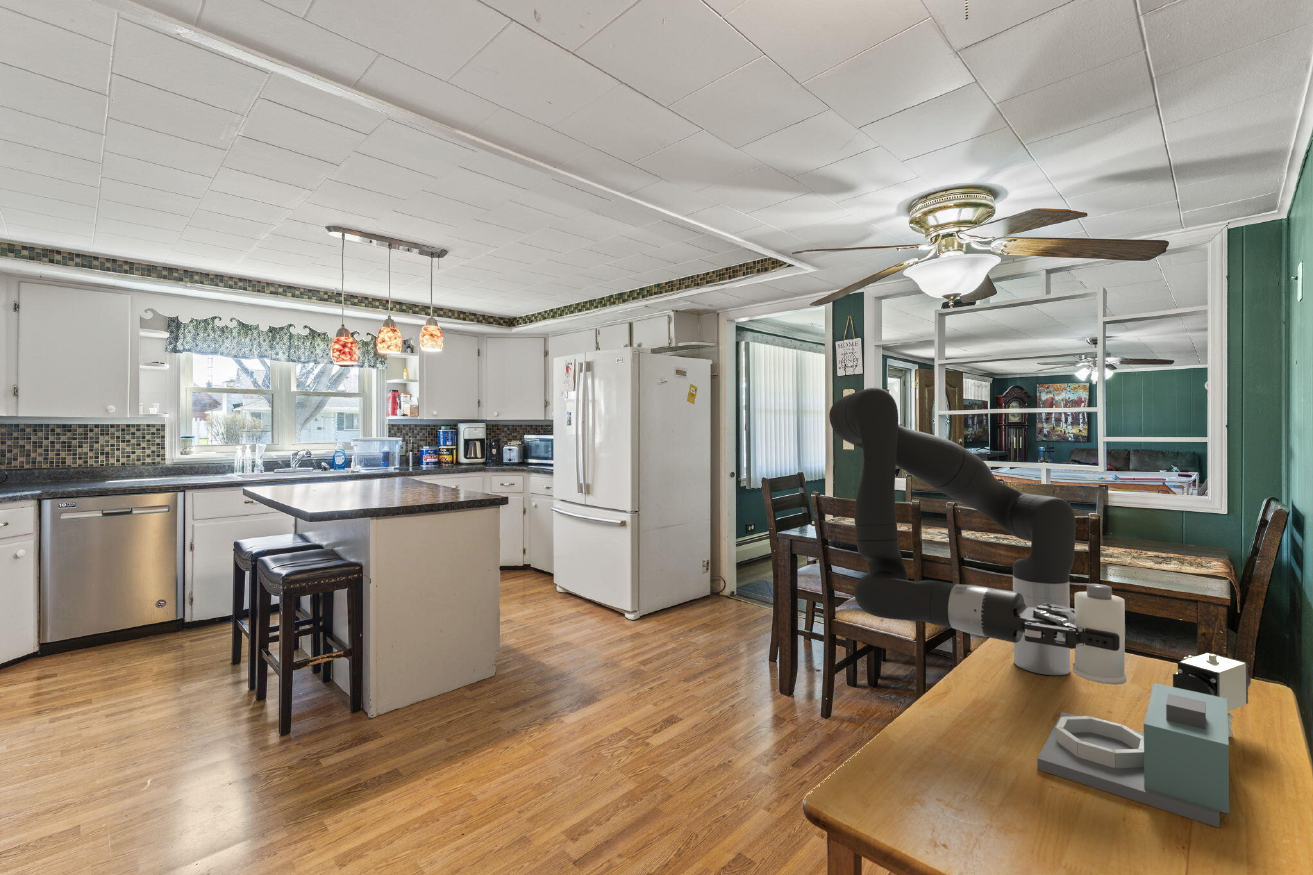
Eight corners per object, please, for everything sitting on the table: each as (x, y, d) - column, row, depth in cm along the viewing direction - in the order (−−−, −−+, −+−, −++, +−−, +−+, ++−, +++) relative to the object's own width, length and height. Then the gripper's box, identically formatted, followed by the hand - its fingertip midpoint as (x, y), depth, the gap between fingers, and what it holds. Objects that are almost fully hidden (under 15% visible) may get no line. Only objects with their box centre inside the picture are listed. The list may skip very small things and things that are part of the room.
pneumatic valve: (1253, 732, 90) (1252, 653, 89) (1212, 751, 85) (1212, 667, 85) (1206, 717, 95) (1206, 642, 95) (1166, 733, 90) (1165, 654, 90)
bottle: (1076, 663, 88) (1076, 578, 87) (1128, 674, 83) (1128, 585, 83) (1069, 675, 83) (1069, 586, 83) (1123, 688, 79) (1123, 594, 79)
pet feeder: (1062, 719, 94) (1062, 647, 94) (1227, 763, 82) (1226, 679, 81) (1037, 769, 81) (1036, 684, 81) (1229, 831, 68) (1228, 730, 68)
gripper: (971, 597, 88) (1115, 622, 76) (998, 579, 98) (1128, 598, 87) (972, 648, 88) (1115, 680, 76) (998, 624, 98) (1128, 649, 87)
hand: (1121, 636), depth 82 cm, fingers closed on bottle, 5 cm apart
